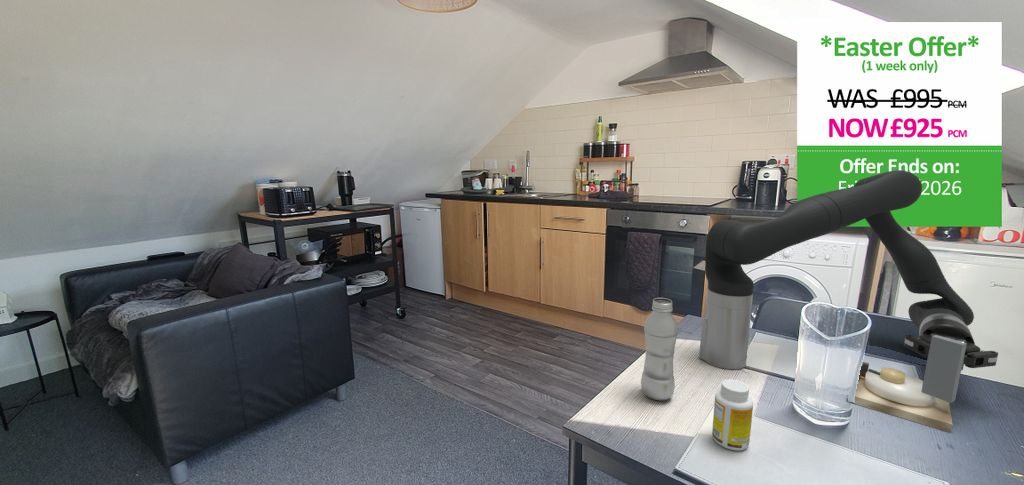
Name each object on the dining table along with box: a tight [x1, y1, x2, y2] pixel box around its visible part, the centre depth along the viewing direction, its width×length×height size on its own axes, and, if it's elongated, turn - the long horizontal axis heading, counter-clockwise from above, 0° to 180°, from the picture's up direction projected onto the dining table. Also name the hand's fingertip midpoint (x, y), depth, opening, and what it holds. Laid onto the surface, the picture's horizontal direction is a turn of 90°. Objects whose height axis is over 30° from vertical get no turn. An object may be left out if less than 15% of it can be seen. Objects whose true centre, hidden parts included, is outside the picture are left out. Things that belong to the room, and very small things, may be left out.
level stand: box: [854, 361, 954, 433], centre depth 80 cm, size 14×14×4 cm
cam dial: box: [864, 335, 967, 407], centre depth 78 cm, size 12×10×13 cm
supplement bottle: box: [711, 378, 754, 452], centre depth 68 cm, size 6×6×10 cm
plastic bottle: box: [640, 297, 679, 402], centre depth 81 cm, size 6×7×20 cm
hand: (952, 365), depth 73 cm, fingers closed
